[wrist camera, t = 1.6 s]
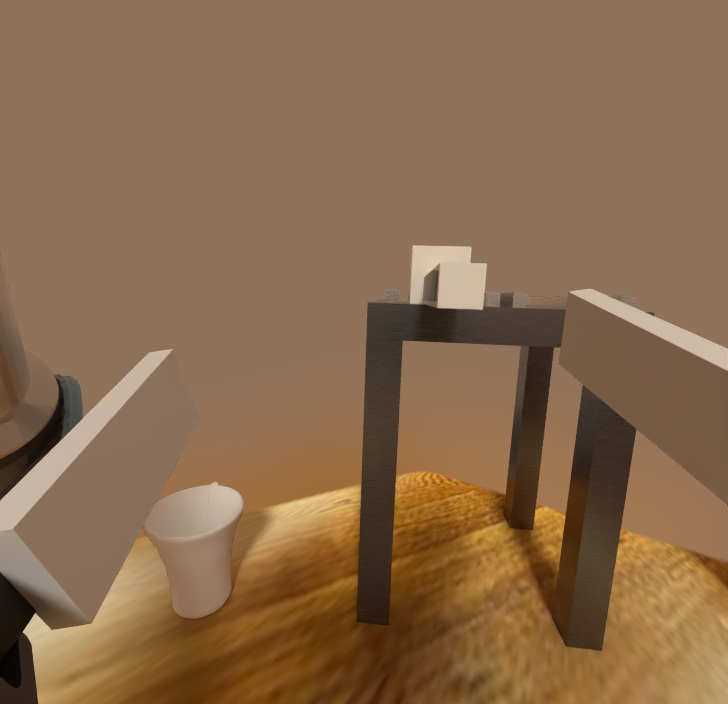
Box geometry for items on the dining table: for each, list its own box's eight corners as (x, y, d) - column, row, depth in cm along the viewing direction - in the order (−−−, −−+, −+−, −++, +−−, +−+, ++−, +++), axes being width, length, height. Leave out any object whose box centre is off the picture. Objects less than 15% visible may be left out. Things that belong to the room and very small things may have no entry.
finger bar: (505, 310, 20) (514, 215, 19) (415, 307, 20) (419, 215, 20) (455, 303, 39) (458, 255, 38) (408, 302, 39) (410, 254, 38)
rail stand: (601, 650, 32) (657, 296, 27) (356, 621, 34) (368, 287, 29) (525, 516, 52) (549, 296, 47) (372, 503, 54) (381, 291, 49)
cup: (259, 565, 41) (258, 482, 39) (221, 642, 32) (218, 539, 30) (184, 558, 42) (180, 477, 40) (125, 632, 32) (117, 531, 31)
